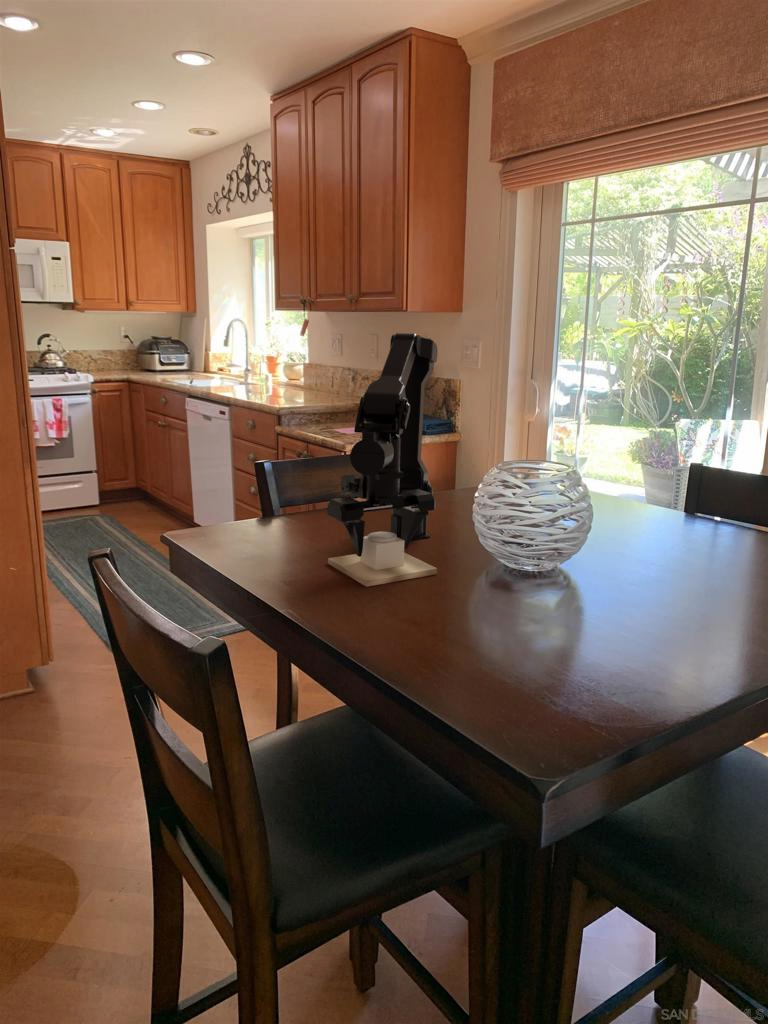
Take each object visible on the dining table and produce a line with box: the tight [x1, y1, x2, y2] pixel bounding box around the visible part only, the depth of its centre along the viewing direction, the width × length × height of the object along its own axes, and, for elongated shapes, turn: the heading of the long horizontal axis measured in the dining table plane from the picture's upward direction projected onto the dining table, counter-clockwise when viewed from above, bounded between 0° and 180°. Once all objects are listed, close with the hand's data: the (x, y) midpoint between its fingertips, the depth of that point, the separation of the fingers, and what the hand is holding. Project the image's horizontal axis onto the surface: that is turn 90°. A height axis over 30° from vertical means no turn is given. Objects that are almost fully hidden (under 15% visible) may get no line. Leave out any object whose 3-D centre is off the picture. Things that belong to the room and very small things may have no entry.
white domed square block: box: [360, 531, 405, 570], centre depth 132 cm, size 6×6×5 cm
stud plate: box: [327, 552, 438, 587], centre depth 132 cm, size 14×14×4 cm
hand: (381, 552), depth 132 cm, fingers open, 9 cm apart
